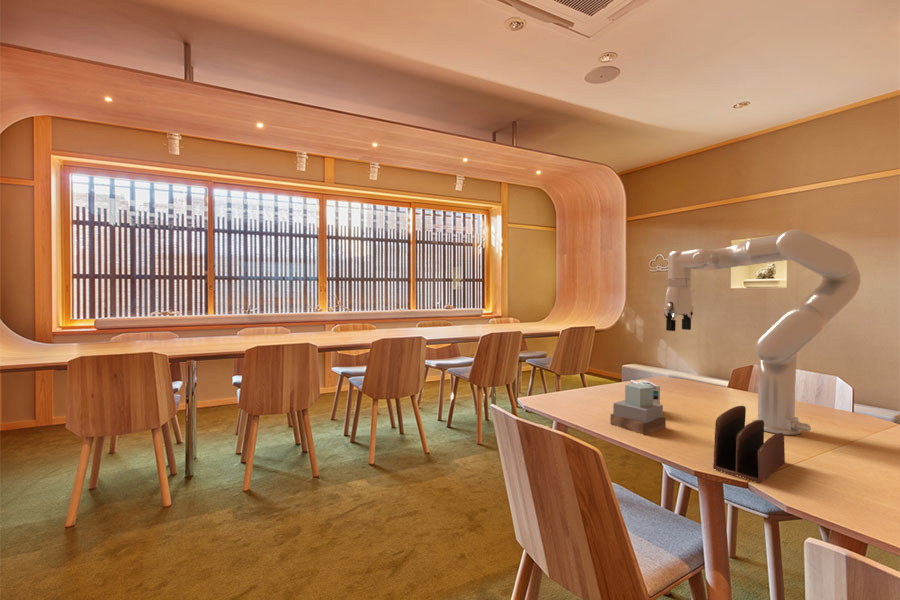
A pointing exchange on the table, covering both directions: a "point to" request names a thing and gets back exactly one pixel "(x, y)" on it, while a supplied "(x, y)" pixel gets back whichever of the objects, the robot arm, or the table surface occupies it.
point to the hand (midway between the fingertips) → (678, 330)
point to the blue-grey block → (639, 395)
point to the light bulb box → (655, 389)
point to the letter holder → (746, 447)
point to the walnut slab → (638, 424)
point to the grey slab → (638, 411)
